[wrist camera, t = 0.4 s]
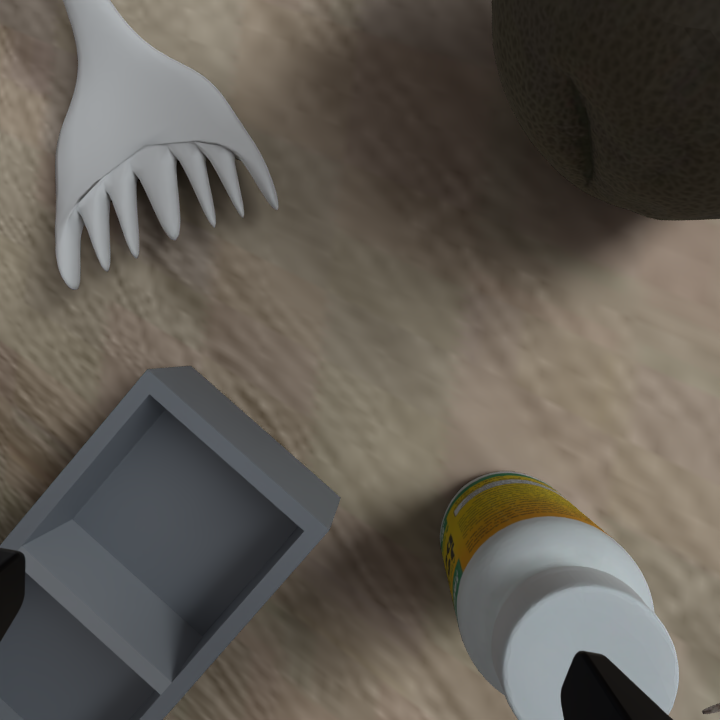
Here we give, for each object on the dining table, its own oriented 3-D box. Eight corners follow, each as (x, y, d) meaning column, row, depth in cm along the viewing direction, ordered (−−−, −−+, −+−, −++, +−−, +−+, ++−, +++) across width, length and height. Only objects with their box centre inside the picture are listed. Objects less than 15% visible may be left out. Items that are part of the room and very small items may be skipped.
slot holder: (340, 497, 22) (329, 530, 18) (-14, 901, 24) (-97, 1014, 20) (190, 365, 23) (147, 369, 19) (-152, 771, 24) (-262, 856, 20)
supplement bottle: (595, 568, 22) (755, 739, 12) (472, 621, 22) (533, 829, 13) (538, 445, 22) (651, 520, 12) (415, 500, 22) (433, 614, 13)
